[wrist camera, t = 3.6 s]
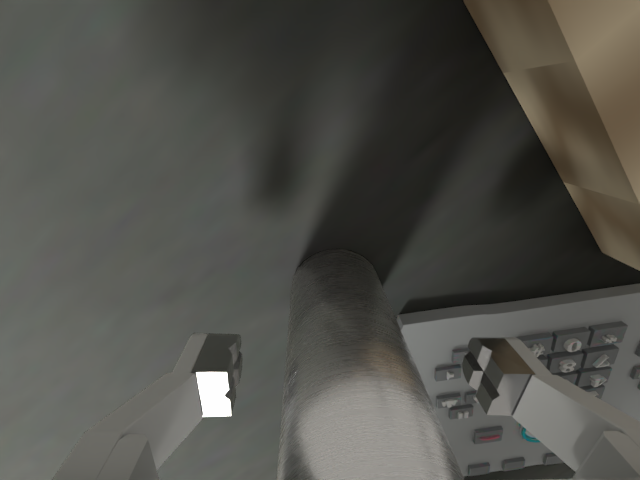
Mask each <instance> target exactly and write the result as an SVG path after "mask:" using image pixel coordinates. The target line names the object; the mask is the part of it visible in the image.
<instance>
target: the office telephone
mask: <svg viewBox="0 0 640 480" xmlns="http://www.w3.org/2000/svg"><path fill="white" fill-rule="evenodd" d="M396 320H397V322H398V325H399V327H400V329H401V332H402V334H403V336H404V339H405V341H406V343H407V346H408V348H409V350H410V353H411V355H412V357H413V360H414V362H415V364H416V367H417V369H418V371H419V374H420V376H421V378H422V381H423V383H424V385H425V388H426V390H427V392H428V395H429V397H430V399H431V402H432V404H433V406H434V409H435V411H436V413H437V416H438V418H439V420H440V423H441V425H442V428H443V430H444V432H445V435H446V437H447V439H448V442H449V444H450V446H451V449H452V451H453V453H454V456H455V458H456V460H457V463H458V465H459V467H460V470H461V472H462V474H463V477H464V476H469V477H470V476H476V475H483V474H489V472H494V471H501V470H503V471H510V470H517V469H524V467H526V466H532V465H539V464H544V465H551V464H557V463H564V462H563V461H562V460H561V459H560V458H559V457H558V456H556V455H555V454H554V453H553V452H552V451H551V450H550V449H548V448H547V447H546V446H545V445H544V444H543V443H542V442H540V441H539V440H538V439H537V438H536V437H535V436H533V435H532V434H531V433H530V432H529V431H528V430H527V429H525V428H524V427H523V426H522V425H521V424H520V423H518V422H517V421H516V420H515V419H514V418H513V417H512V416H504V415H486V413H485V412H484V410H483V408H482V406H481V405H480V403H479V401H478V400H477V398H476V391H477V390H475V389H474V388H473V387H471V386H470V385H469V384H468V382H467V381H466V379H465V377H464V374H463V367H462V362H463V359H464V356H465V355H466V354H467V353H468V352H470V350H469V348H468V343H469V341H470V340H471V339H472V338H473V337H496V338H501V337H516V338H518V339H520V340H521V341H522V342H523V343H524V344H525V346H526V347H527V348H528V349H529V350H530V351H531V352H532V353H533V354H534V355H535V356H536V357H537V359H538V360H539V361H540V362H541V363H542V364H543V365H544V366H545V367H546V368H547V369H548V370H549V372H550V373H551V374H552V375H558V376H560V377H562V378H563V379H565V380H567V381H569V382H570V383H572V384H574V385H576V386H577V387H579V388H581V389H583V390H585V391H586V392H588V393H590V394H592V395H593V396H595V397H597V398H599V399H600V400H602V401H604V402H606V403H607V404H609V405H611V406H613V407H615V408H616V409H618V410H620V411H622V412H623V413H625V414H627V415H629V416H630V417H632V418H634V419H636V420H637V421H639V422H640V283H638V284H631V285H624V286H617V287H610V288H603V289H596V290H589V291H582V292H575V293H568V294H561V295H554V296H547V297H540V298H533V299H526V300H519V301H512V302H504V303H497V304H487V305H466V306H457V307H450V308H443V309H435V310H428V311H421V312H414V313H407V314H400V315H398V317H397V319H396Z"/></svg>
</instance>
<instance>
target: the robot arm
mask: <svg viewBox="0 0 640 480" xmlns="http://www.w3.org/2000/svg"><path fill="white" fill-rule="evenodd" d="M240 347H241V336H240V335H239V334H212V333H209V334H203V333H193V334H192V335H191V336H190V338H189V340H188V342H187V344H186V346H185V348H184V350H183V352H182V353H181V355H180V357H179V359H178V361H177V363H176V365H175V367H174V369H173V371H172V373H166V374H165V375H163V376H162V377H160V378H159V379H158V380H156V381H155V382H153V383H152V384H151V385H149V386H148V387H147V388H145V389H144V390H142V391H141V392H140V393H138V394H137V395H136V396H134V397H133V398H131V399H130V400H129V401H127V402H126V403H124V404H123V405H122V406H120V407H119V408H118V409H116V410H115V411H113V412H112V413H111V414H109V415H108V416H106V417H105V418H104V419H102V420H101V421H100V422H98V423H97V424H95V425H94V426H93V427H91V428H90V429H89V430H87V431H86V432H84V434H83V435H82V436H81V438H80V439H79V441H78V442H77V444H76V445H75V447H74V448H73V450H72V451H71V452H70V454H69V455H68V457H67V458H66V460H65V461H64V463H63V464H62V466H61V467H60V468H59V470H58V471H57V473H56V474H55V476H54V477H53V479H52V480H159V477H158V473H157V470H158V468H159V467H160V466H161V465H162V464H163V463H164V462H165V461H166V459H167V458H168V457H169V456H170V455H171V454H172V453H173V452H174V450H175V449H176V448H177V447H178V446H179V445H180V444H181V443H182V441H183V440H184V439H185V438H186V437H187V436H188V435H189V434H190V432H191V431H192V430H193V429H194V428H195V427H196V426H197V425H198V423H199V422H200V421H201V420H202V419H203V417H210V416H231V415H232V411H233V407H234V403H235V399H236V388H235V387H236V386H237V385H238V384H239V382H240V378H241V372H242V353H241V352H240V351H239V350H240ZM468 348H469V350H470V352H468V353H467V354H466V355H465V356H464V359H463V362H462V367H463V374H464V377H465V379H466V381H467V382H468V384H469V385H470V386H471V387H473V388H474V389H475V390H477V391H476V398H477V400H478V401H479V403H480V405H481V406H482V408H483V410H484V412H485V413H486V415H504V416H512V417H513V418H514V419H515V420H516V421H517V422H518V423H520V424H521V425H522V426H523V427H524V428H525V429H527V430H528V431H529V432H530V433H531V434H532V435H533V436H535V437H536V438H537V439H538V440H539V441H540V442H542V443H543V444H544V445H545V446H546V447H547V448H548V449H550V450H551V451H552V452H553V453H554V454H555V455H556V456H558V457H559V458H560V459H561V460H562V461H563V462H565V463H566V464H567V465H568V466H569V467H570V468H571V469H573V470H574V471H575V472H576V473H575V474H574V476H573V477H572V479H529V480H640V422H639V421H637V420H636V419H634V418H632V417H630V416H629V415H627V414H625V413H623V412H622V411H620V410H618V409H616V408H615V407H613V406H611V405H609V404H607V403H606V402H604V401H602V400H600V399H599V398H597V397H595V396H593V395H592V394H590V393H588V392H586V391H585V390H583V389H581V388H579V387H577V386H576V385H574V384H572V383H570V382H569V381H567V380H565V379H563V378H562V377H560V376H558V375H552V374H551V373H550V372H549V370H548V369H547V368H546V367H545V366H544V365H543V364H542V363H541V362H540V361H539V360H538V359H537V357H536V356H535V355H534V354H533V353H532V352H531V351H530V350H529V349H528V348H527V347H526V346H525V344H524V343H523V342H522V341H521V340H520V339H518V338H516V337H501V338H496V337H473V338H472V339H471V340H470V341H469V343H468Z"/></svg>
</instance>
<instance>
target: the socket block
mask: <svg viewBox="0 0 640 480" xmlns="http://www.w3.org/2000/svg"><path fill="white" fill-rule="evenodd" d="M463 1H464V3H465V5H466V7H467V9H468V10H469V12H470V14H471V16H472V18H473V19H474V21H475V23H476V25H477V27H478V29H479V30H480V32H481V34H482V36H483V38H484V39H485V41H486V43H487V45H488V47H489V48H490V50H491V52H492V54H493V56H494V57H495V59H496V61H497V63H498V65H499V67H500V68H501V70H502V72H503V74H504V76H505V77H506V79H507V81H508V83H509V85H510V86H511V88H512V90H513V92H514V94H515V96H516V97H517V99H518V101H519V103H520V105H521V106H522V108H523V110H524V112H525V114H526V115H527V117H528V119H529V121H530V123H531V124H532V126H533V128H534V130H535V132H536V134H537V135H538V137H539V139H540V141H541V143H542V144H543V146H544V148H545V150H546V152H547V153H548V155H549V157H550V159H551V161H552V162H553V164H554V166H555V168H556V170H557V172H558V173H559V175H560V177H561V179H562V181H563V182H564V184H565V186H566V188H567V190H568V191H569V193H570V195H571V197H572V199H573V200H574V202H575V204H576V206H577V208H578V210H579V211H580V213H581V215H582V217H583V219H584V220H585V222H586V224H587V226H588V228H589V229H590V231H591V233H592V235H593V237H594V238H595V240H596V242H597V244H598V246H599V248H600V249H601V251H602V253H604V254H606V255H608V256H610V257H612V258H614V259H616V260H618V261H620V262H622V263H625V264H627V265H629V266H631V267H633V268H635V269H637V270H639V271H640V0H463Z"/></svg>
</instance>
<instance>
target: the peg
mask: <svg viewBox="0 0 640 480" xmlns="http://www.w3.org/2000/svg"><path fill="white" fill-rule="evenodd" d="M277 480H465V479H464V477H463V474H462V472H461V470H460V467H459V465H458V463H457V460H456V458H455V456H454V453H453V451H452V449H451V446H450V444H449V442H448V439H447V437H446V435H445V432H444V430H443V428H442V425H441V423H440V420H439V418H438V416H437V413H436V411H435V409H434V406H433V404H432V402H431V399H430V397H429V395H428V392H427V390H426V388H425V385H424V383H423V381H422V378H421V376H420V374H419V371H418V369H417V367H416V364H415V362H414V360H413V357H412V355H411V353H410V350H409V348H408V346H407V343H406V341H405V339H404V336H403V334H402V332H401V329H400V327H399V325H398V322H397V320H396V318H395V315H394V313H393V311H392V308H391V306H390V303H389V301H388V299H387V296H386V294H385V292H384V289H383V287H382V285H381V282H380V280H379V278H378V275H377V273H376V271H375V269H374V267H373V266H372V264H371V263H370V262H369V261H368V260H367V259H366V258H364V257H363V256H361V255H360V254H357V253H355V252H352V251H349V250H344V249H331V250H325V251H322V252H319V253H317V254H314V255H313V256H311V257H309V258H308V259H306V260H305V261H304V262H303V263H302V264H301V265H300V266H299V268H298V269H297V271H296V272H295V275H294V277H293V281H292V289H291V302H290V315H289V327H288V340H287V353H286V366H285V379H284V392H283V405H282V418H281V431H280V444H279V457H278V470H277Z"/></svg>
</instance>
